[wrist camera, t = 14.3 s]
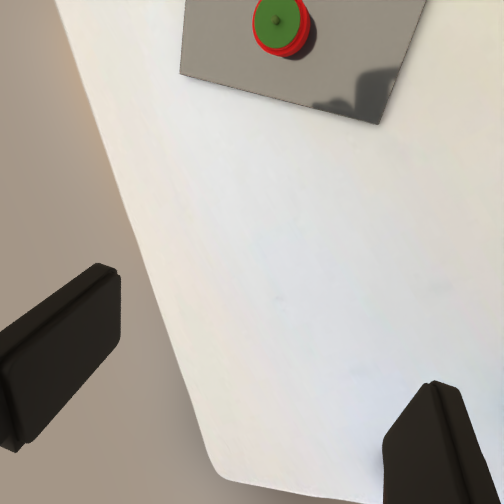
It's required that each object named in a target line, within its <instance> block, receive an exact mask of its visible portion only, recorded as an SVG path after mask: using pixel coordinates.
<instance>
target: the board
mask: <svg viewBox="0 0 504 504" xmlns="http://www.w3.org/2000/svg"><path fill="white" fill-rule="evenodd" d="M302 1H303V3H304V4H305V6H306V8H307V10H308V12H309V16H310V30H309V35H308V37H307V40H306V42H305V43H304V45H303V46H302V48H301V49H300V50H299V51H297V52H296V53H294V54H293V55H290V56H287V57H279V56H275V55H272V54H269V53H267V52H266V51H264V50H263V49H262V48H261V47H260V46H259V45H258V43H257V42H256V39H255V37H254V34H253V28H252V19H253V14H254V10H255V8H256V6H257V4H258V2H259V0H186V2H185V14H184V26H183V38H182V50H181V62H180V74H182V75H186V76H190V77H193V78H197V79H201V80H205V81H209V82H213V83H217V84H221V85H225V86H228V87H232V88H236V89H240V90H244V91H248V92H252V93H256V94H260V95H263V96H267V97H271V98H275V99H279V100H283V101H287V102H291V103H295V104H299V105H302V106H306V107H310V108H314V109H318V110H322V111H326V112H330V113H334V114H337V115H341V116H345V117H349V118H353V119H357V120H361V121H365V122H369V123H373V124H376V125H379V122H380V120H381V117H382V115H383V112H384V109H385V107H386V104H387V102H388V99H389V96H390V94H391V91H392V89H393V86H394V83H395V81H396V78H397V76H398V73H399V70H400V68H401V65H402V63H403V60H404V57H405V55H406V52H407V50H408V47H409V44H410V42H411V39H412V37H413V34H414V31H415V29H416V26H417V24H418V21H419V18H420V16H421V13H422V10H423V8H424V5H425V3H426V0H302Z"/></svg>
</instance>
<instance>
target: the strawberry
mask: <svg viewBox="0 0 504 504" xmlns="http://www.w3.org/2000/svg"><path fill="white" fill-rule="evenodd" d="M252 28H253V34H254V37H255V39H256V42H257V43H258V45H259V46H260V47H261V48H262V49H263V50H264V51H266V52H267V53H269V54H272V55H275V56H279V57H287V56H290V55H293V54H294V53H296V52H297V51H299V50H300V49H301V48H302V46H303V45H304V43H305V42H306V40H307V37H308V35H309V30H310V16H309V12H308V10H307V8H306V6H305V4H304V3H303V1H302V0H259V2H258V4H257V6H256V8H255V10H254V14H253V19H252Z"/></svg>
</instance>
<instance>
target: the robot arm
mask: <svg viewBox="0 0 504 504" xmlns="http://www.w3.org/2000/svg"><path fill="white" fill-rule="evenodd" d="M120 327H121V277H120V275H118V274H117V270H116V269H115V268H112V267H109V266H106V265H103V264H101V263H95V264H94V265H92V266H91V267H89V268H88V269H87V270H85V271H84V272H82V273H81V274H80V275H78V276H77V277H76V278H74V279H73V280H71V281H70V282H69V283H67V284H66V285H64V286H63V287H62V288H60V289H59V290H57V291H56V292H55V293H53V294H52V295H51V296H49V297H48V298H46V299H45V300H44V301H42V302H41V303H39V304H38V305H37V306H35V307H34V308H33V309H31V310H30V311H28V312H27V313H26V314H24V315H23V316H22V317H20V318H19V319H17V320H16V321H15V322H13V323H12V324H10V325H9V326H8V327H6V328H5V329H4V330H2V331H1V332H0V446H1V447H3V448H5V449H8V450H10V451H12V452H14V453H16V452H18V451H19V449H20V448H21V447H22V446H23V445H24V444H25V443H31V442H32V441H33V440H35V438H36V437H38V435H39V434H40V433H41V432H42V431H43V429H44V428H45V427H46V426H47V425H48V424H49V423H50V421H51V420H52V419H53V418H54V417H55V416H56V415H57V414H58V412H59V411H60V410H61V409H62V408H63V407H64V406H65V404H66V403H67V402H68V401H69V400H70V399H71V398H72V396H73V395H74V394H75V393H76V392H77V391H78V390H79V388H80V387H81V386H82V385H83V384H84V383H85V382H86V380H87V379H88V378H89V377H90V376H91V375H92V374H93V372H94V371H95V370H96V369H97V368H98V367H99V365H100V364H101V363H102V362H103V361H104V360H105V359H106V358H107V356H108V355H109V354H110V353H111V352H112V351H113V349H114V348H115V347H116V346H117V344H118V342H119V340H120V333H121V331H120V330H121V328H120ZM382 453H383V464H384V475H385V487H386V498H387V504H501V503H500V500H499V497H498V494H497V491H496V488H495V486H494V483H493V480H492V477H491V474H490V472H489V469H488V466H487V463H486V461H485V459H484V456H483V454H482V452H481V450H480V447H479V444H478V441H477V438H476V435H475V433H474V430H473V427H472V424H471V421H470V418H469V416H468V413H467V410H466V407H465V404H464V401H463V399H462V396H461V393H460V391H459V390H458V389H457V388H456V387H453V386H450V385H447V384H444V383H441V382H438V381H435V380H434V381H432V382H431V383H430V384H428V383H424V384H423V385H422V386H421V388H420V389H419V390H418V392H417V393H416V394H415V396H414V397H413V399H412V400H411V401H410V403H409V404H408V405H407V407H406V408H405V409H404V411H403V412H402V413H401V415H400V416H399V417H398V419H397V420H396V421H395V423H394V424H393V425H392V427H391V428H390V430H389V431H388V432H387V434H386V435H385V437H384V439H383V444H382Z"/></svg>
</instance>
